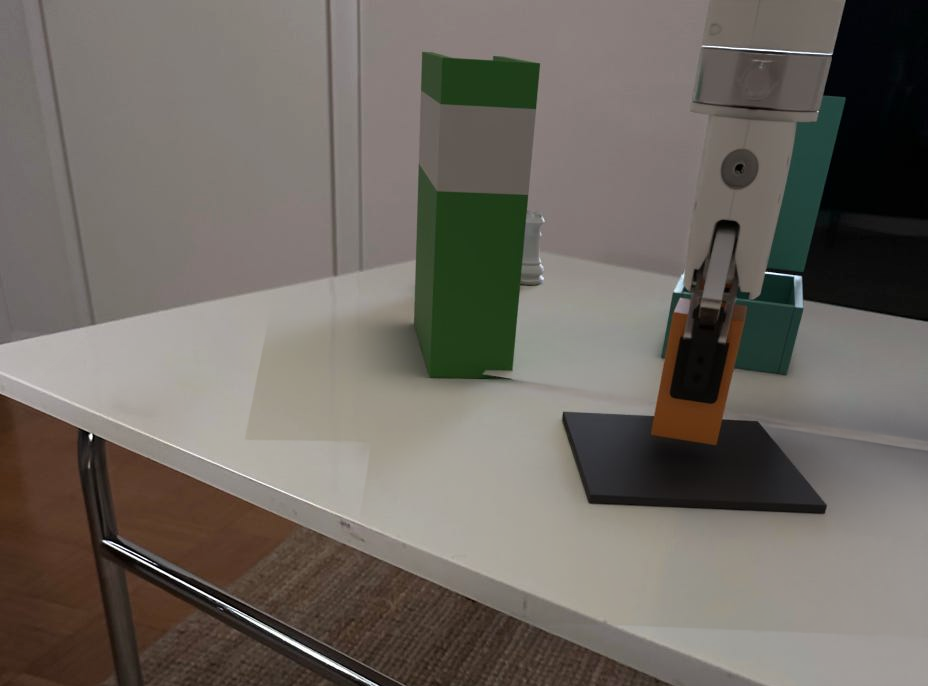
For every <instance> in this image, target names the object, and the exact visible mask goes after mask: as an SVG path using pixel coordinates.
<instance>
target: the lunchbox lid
mask: <svg viewBox="0 0 928 686" xmlns="http://www.w3.org/2000/svg"><path fill="white" fill-rule="evenodd" d="M846 99H847V98H846V97H845V96H834V95H833V96H831V95H823V97H822V101H821V105H820V109H819V110H818V111H819V113H818V117H817V121H816V122H812V121H811V122H797V125H796V132H795V139H794V145H793V151H792V157H791V162H790V167H789V172H788V177H787V181H786V186H785V191H784V195H783V200H782V204H781V208H780V212H779V216H778V221H777V225H776V229H775V233H774V238H773V242H772V246H771V251H770V255H769V259H768V263H767V268H766V269H774V270H781V271H789V272H800V273H803V272H805V267H806V264H807V260H808V255H809V251H810V246H811V243H812V238H813V234H814V231H815V227H816V226H815V225H816V222H817V218H818V215H819V209H820V206H821V202H822V197H823V194H824V189H825V185H826V181H827V177H828V172H829V169H830V164H831V160H832V158H833V157H832V156H833V153H834V148H835V144H836V140H837V137H838V131H839V127H840V124H841V120H842V116H843V112H844V107H845V103H846ZM739 229H740V228H739Z"/></svg>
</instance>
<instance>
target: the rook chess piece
mask: <svg viewBox="0 0 928 686" xmlns="http://www.w3.org/2000/svg"><path fill="white" fill-rule="evenodd" d="M543 215H544V212H542V211H538V210H533V211H532V213H531V210H530V209H527V216H526V227H525V238H524V249H523V260H522V271H521V282H520V285H523V286H537V285H540V284H542V282H543V281H544V277H543V276H542V275H543V274H544V273H545V269H544V266H543V265H542V260H541V256H540V242H541V241H540V239H541V237H542V236H543V235H542V233H541V229H542V227H543V226H544V225H545V223H546V221H545V219H544V216H543Z"/></svg>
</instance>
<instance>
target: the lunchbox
mask: <svg viewBox="0 0 928 686" xmlns="http://www.w3.org/2000/svg"><path fill="white" fill-rule="evenodd" d="M684 272H685V268H683V271H682V273H681V275H680V277H679V279H678V281H677V283H676V285H675V287H674V290H673V291H672V295H671V301H670V305H669V306H670V307H669V311H668V317H667V322H666V329H665V333H664V340H663V344H662V351H661V357H660V359H664V360H665V355H666V349H667V344H668V338H669V333H670V328H671V322H672V317H673V312H674V310H675V308H676V306H677V303H678V301H679V299H680V298H686V299H691V298H692V296H691V294H692V291H693V289H692V291H691V292H689V291H688V290H687V289H686V287H685V286H684V285H683V282H684ZM693 288H694V287H693ZM749 294H750V292H741V290H740V285H739V287H738V290H737V294H736V297H737V298H736V302H735V303H734V305H742V306H747V309H746V315H745V321H744V326H743V330H742V335H741V339H740V343H739V348H738V352H737V357H736V361H735V365H734V369H735V370H736V369H738V370H743V371H744V370H745V371H752V372H759V373H766V374H772V375H779V376H780V375H781V376H787V375H788V371H789V367H790V364H791V360H792V357H793V352H794V348H795V345H796V340H797V337H798V334H799V333H798V332H799V328H800V325H801V321H802V317H803V313H804V308H805V306H804V289H803V276H802V275H793V274H787V273H786V274H785V273H776V272H770V271H769V272H768V271H766V272H765V276H764V280H763V284H762V289H761V293H760V295H759V296H758V297H756V298H755V299H753V300H750V299H749Z"/></svg>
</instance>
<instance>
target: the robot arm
mask: <svg viewBox="0 0 928 686" xmlns="http://www.w3.org/2000/svg"><path fill="white" fill-rule="evenodd" d="M845 4H846V0H708V6H707V11H706V18H705V23H704V29H703V34H702V41H701V48H700V50H699V56H698V61H697V68H696V73H695V79H694V85H693V90H692V96H691V101H690V108H689V112H691V113H694V114H700V115H706V116H708V120H707V124H706V129H705V134H704V139H703V144H702V145H703V146H702V149H701V150H702V151H701V156H700V162H699V169H698V173H697V178H696V185H695V191H694V197H693V202H692V209H691V216H690V222H689V230H688V238H687V245H686V256H685V263H684V269H685V272H684V282H683V285H684V286H685V287H686V289H687V290H688V291H689V292H691V291H692V289H693V291H692V294H691V296H692V298H691V303H690V307H689V312H688V317H687V322H686V327H685V332H684V337H680V341H679V346H678V351H677V357H676V362H675V367H674V372H673V377H672V383H671V388H670V396H671V397H672V398H675V399H682V400H688V401H695V402H702V403H708V404H713V403H715V402H716V401H717V398H718V394H719V389H720V385H721V380H722V376H723V371H724V367H725V362H726V358H727V353H728V349H729V344H730V343H726V339H727V335H728V330H729V326H730V321H731V317H732V312H733V308H734V303H735V302H736V298H737V297H736V294H737V290H738V287H739V285H740V290H741V292H750V294H749V299H750V300H753V299H755V298H756V297H758V296H759V295H760V293H761V289H762V284H763V280H764V276H765V272H767V269H768V268H767V263H768V259H769V255H770V251H771V246H772V242H773V238H774V233H775V229H776V225H777V221H778V216H779V212H780V208H781V204H782V200H783V195H784V191H785V186H786V181H787V177H788V172H789V167H790V162H791V157H792V151H793V145H794V139H795V132H796V125H797V122H811V121H812V122H816V121H817V117H818V113H819V111H818V110H819V109H820V105H821V101H822V97H823V96H824V92H825V87H826V85H827V84H826V83H827V81H828V75H829V72H830V68H831V63H832V59H833V58H832V55H833V53H834V49H835V45H836V41H837V37H838V33H839V28H840V24H841V21H842V16H843V12H844V9H845ZM739 228H740V229H739ZM693 287H694V288H693ZM700 300H701V304H699V301H700ZM722 303H726V307H725V310H724V307H721V304H722ZM720 326H721V330H720ZM719 331H720V333H719ZM718 338H719V339H718ZM717 341H718V342H717Z"/></svg>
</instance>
